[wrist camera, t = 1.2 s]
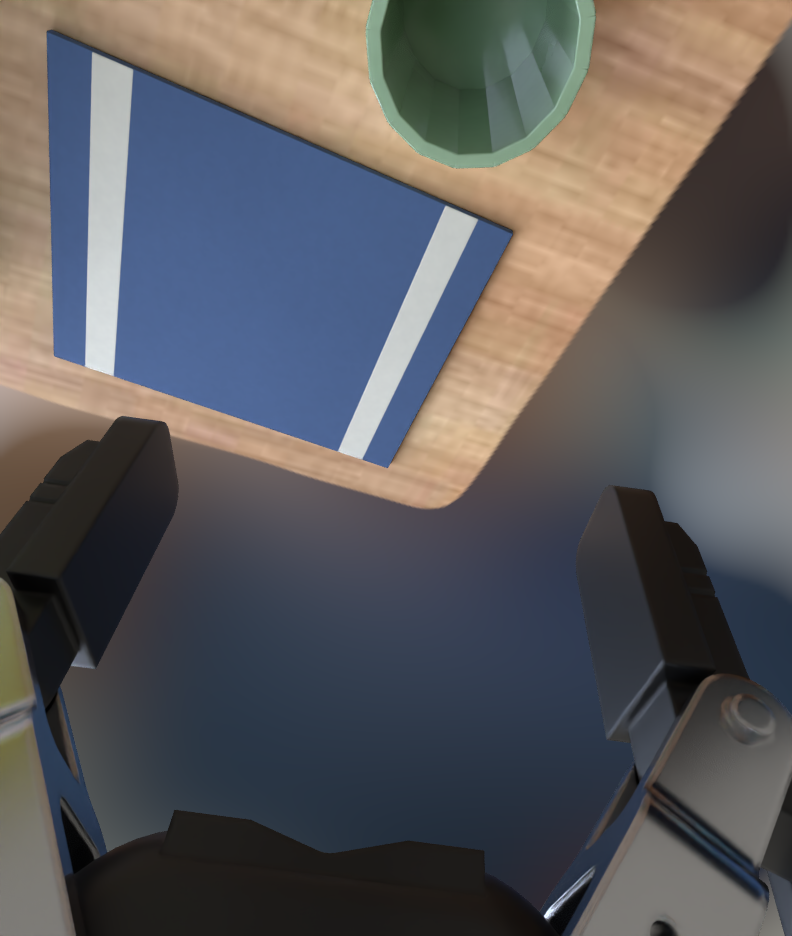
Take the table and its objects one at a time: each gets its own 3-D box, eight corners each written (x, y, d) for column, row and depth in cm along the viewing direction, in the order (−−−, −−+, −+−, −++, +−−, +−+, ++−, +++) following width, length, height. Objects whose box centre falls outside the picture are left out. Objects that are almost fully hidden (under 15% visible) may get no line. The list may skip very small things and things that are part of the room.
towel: (57, 352, 34) (53, 356, 34) (51, 29, 23) (45, 30, 23) (388, 464, 38) (387, 468, 38) (512, 230, 27) (513, 234, 27)
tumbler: (366, -45, 21) (325, -19, 15) (528, -150, 19) (557, -168, 13) (432, 123, 25) (421, 201, 18) (575, 50, 22) (617, 111, 16)
